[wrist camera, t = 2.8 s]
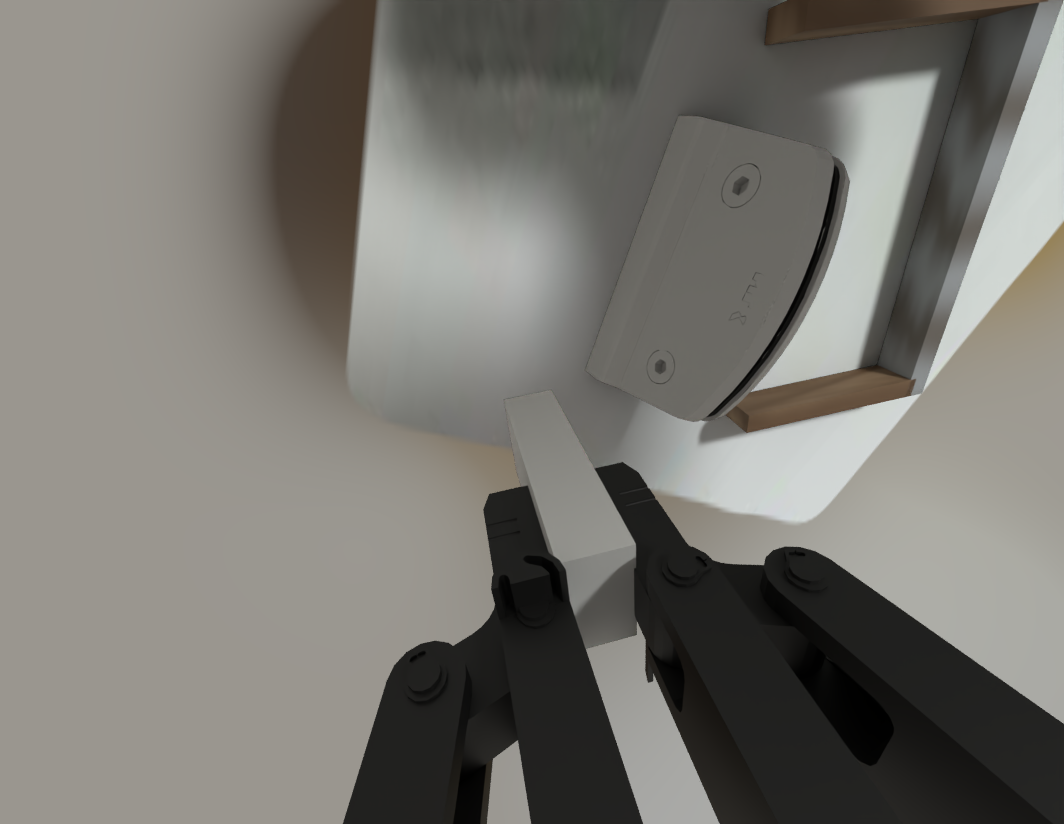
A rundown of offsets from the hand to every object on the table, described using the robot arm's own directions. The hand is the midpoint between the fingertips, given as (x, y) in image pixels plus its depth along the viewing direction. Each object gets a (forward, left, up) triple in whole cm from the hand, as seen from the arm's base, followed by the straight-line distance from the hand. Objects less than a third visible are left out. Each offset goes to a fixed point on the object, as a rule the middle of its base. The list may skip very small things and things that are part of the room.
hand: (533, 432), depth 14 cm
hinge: (0, +13, -16) cm, 21 cm away
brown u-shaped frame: (0, +25, -16) cm, 30 cm away
